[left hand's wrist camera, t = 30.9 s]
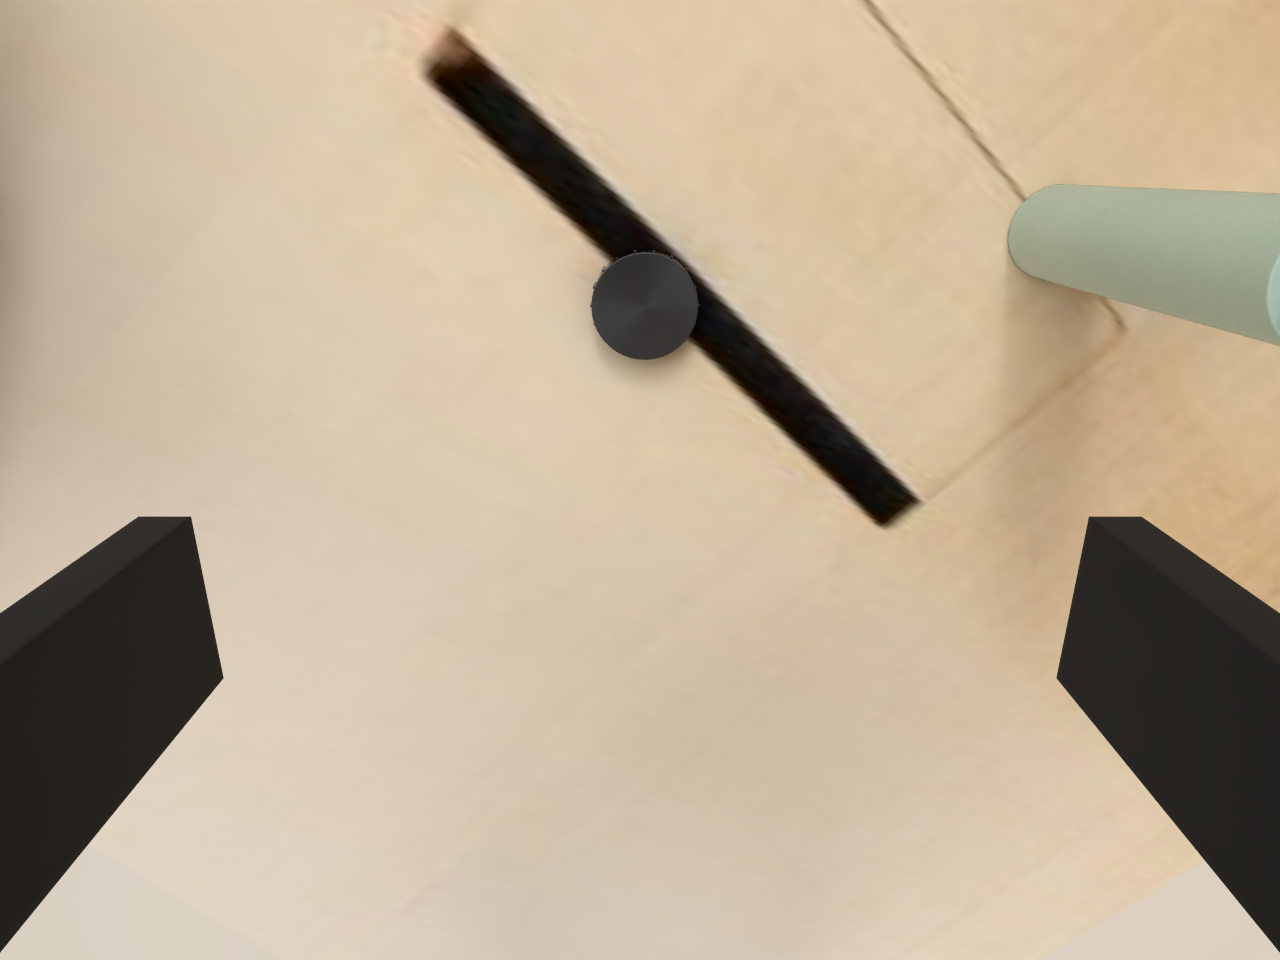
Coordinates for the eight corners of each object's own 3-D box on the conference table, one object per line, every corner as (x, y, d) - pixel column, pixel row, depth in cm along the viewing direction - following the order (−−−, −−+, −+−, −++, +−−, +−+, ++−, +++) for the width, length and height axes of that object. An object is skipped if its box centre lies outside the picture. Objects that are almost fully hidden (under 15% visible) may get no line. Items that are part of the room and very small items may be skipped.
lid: (576, 269, 40) (573, 274, 39) (676, 231, 40) (678, 234, 38) (614, 366, 42) (612, 375, 40) (711, 331, 42) (714, 339, 40)
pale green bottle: (1083, 284, 41) (1440, 379, 23) (996, 272, 41) (1286, 358, 22) (1112, 191, 39) (1520, 212, 21) (1022, 178, 39) (1355, 188, 21)
